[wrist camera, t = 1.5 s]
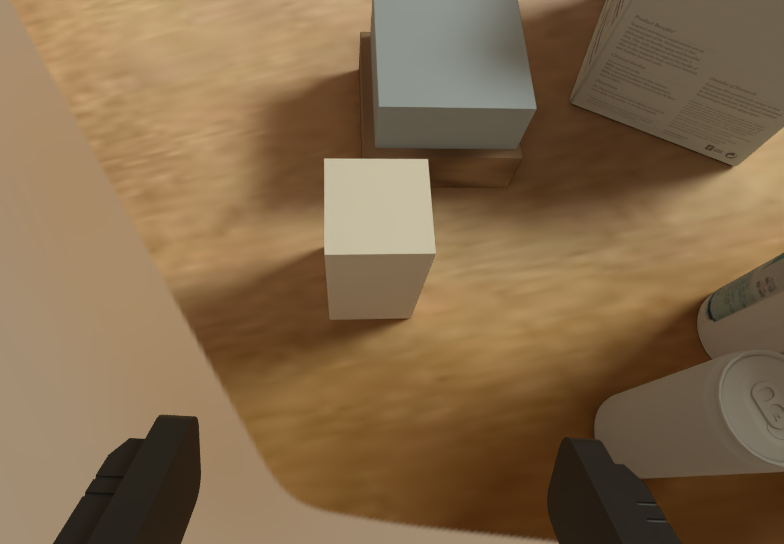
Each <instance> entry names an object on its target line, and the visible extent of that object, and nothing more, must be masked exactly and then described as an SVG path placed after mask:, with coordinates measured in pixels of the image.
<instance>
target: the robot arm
mask: <svg viewBox="0 0 784 544" xmlns="http://www.w3.org/2000/svg"><path fill="white" fill-rule="evenodd" d="M200 480H201V464H200V444H199V424H198V419H197V417H195V416H176V415H159V416H158V418H157V419H156V421H155V422H154V424H153V426H152V428H151V430H150V431H149V433H148V435H147V437H146V438H145V439H136V438H129V439H128V440H127V441H126V442H124V443H123V444H122V445H121V446H119V447H118V448H117V449H115V450H114V451H113V452H112V453H111V454H109V455H108V457H107V458H106V460H105V461H104V463H103V465H102V466H101V468H100V469H99V471H98V473H97V474H96V478H95V479H93V481H92V482H91V484H90V486H89V487H88V489H87V490H86V492H85V496H84V497H82V498H81V500H80V501H79V503H78V505H77V506H76V508H75V509H74V511H73V513H72V514H71V516H70V517H69V519H68V521H67V523H66V524H65V525H64V527H63V529H62V530H61V532H60V533H59V535H58V537H57V538H56V540H55V542H54V543H53V544H181V542H182V539H183V536H184V534H185V531H186V528H187V526H188V523H189V520H190V518H191V515H192V512H193V510H194V507H195V504H196V501H197V497H198V493H199V488H200ZM547 503H548V512H549V517H550V520H551V523H552V526H553V528H554V531H555V534H556V536H557V539H558V542H559V544H682V543H681V542H680V540H679V539H678V537H677V535H676V534H675V532H674V530H673V529H672V527H671V526H670V524H669V523H667V522H666V517H665V516H664V514H663V513H662V511H661V509H660V508H659V506H656V501H655V500H654V498H653V496H652V495H651V493H650V491H649V490H648V488H647V487H646V485H645V483H644V482H643V481H642V480H641V479H640V478H639V477H637V476H636V475H635V474H634V473H633V472H632V471H631V470H630V469H629V468H627V467H626V466H625V465H624V464H615V463H614V462H613V460H612V458H611V456H610V455H609V453H608V451H607V449H606V448H605V446H604V444H603V443H602V442H601V441H600V440H599V439H585V438H564V439H563V440H562V442H561V444H560V447H559V451H558V455H557V459H556V462H555V466H554V470H553V474H552V478H551V481H550V485H549V489H548V498H547Z"/></svg>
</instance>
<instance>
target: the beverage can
mask: <svg viewBox="0 0 784 544" xmlns="http://www.w3.org/2000/svg"><path fill="white" fill-rule="evenodd" d="M594 435H595V439H599V440H600V441H601V442H602V443H603V444H604V446H605V448H606V449H607V451H608V453H609V455H610V456H611V458H612V460H613V462H614V463H615V464H624V465H625V466H626V467H627V468H629V469H630V470H631V471H632V472H633V473H634V474H635V475H636V476H637V477H639V478H640V479H647V478H668V477H689V476H709V475H730V474H750V473H771V472H784V355H783V354H781V353H777V352H773V351H770V350H750V351H737V352H734V353H730V354H726V355H723V356H720V357H718V358H715V359H712V360H709V361H707V362H704V363H701V364H698V365H696V366H693V367H690V368H687V369H685V370H682V371H679V372H676V373H673V374H671V375H668V376H665V377H662V378H660V379H657V380H654V381H651V382H649V383H646V384H643V385H640V386H638V387H635V388H632V389H629V390H626V391H624V392H621V393H618V394H615V395H613V396H611V397H610V398H608V399H607V400H605V401H604V402H603V404H602V405H601V406H600V407H599V409H598V412H597V414H596V417H595V424H594Z"/></svg>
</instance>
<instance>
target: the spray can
mask: <svg viewBox="0 0 784 544" xmlns="http://www.w3.org/2000/svg"><path fill="white" fill-rule="evenodd" d="M697 330H698V334H699V338H700V341H701V343H702V345H703V347H704V349H705V351H706V352H707V354H708V355H709V356H710V357H711V359H715V358H718V357H720V356H723V355H726V354H730V353H734V352H737V351H750V350H770V351H773V352H777V353H781V354H783V355H784V253H782V254H781V255H779V256H777V257H775V258H774V259H772V260H770V261H768V262H766V263H765V264H763V265H761V266H759V267H757V268H756V269H754V270H752V271H750V272H748V273H747V274H745V275H743V276H741V277H739V278H738V279H736V280H734V281H732V282H730V283H729V284H727V285H725V286H723V287H721V288H720V289H718V290H716V291H715V292H713V293H712V294H711V295H709V297H708V298H706V300H705V301H704V302H703V304H702V305H701V307H700V310H699V313H698V316H697Z"/></svg>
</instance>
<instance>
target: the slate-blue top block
mask: <svg viewBox="0 0 784 544" xmlns="http://www.w3.org/2000/svg"><path fill="white" fill-rule="evenodd" d="M370 41H371V65H372V88H373V112H374V136H375V148H429V149H517V147H518V145H519V143H520V141H521V139H522V137H523V135H524V133H525V131H526V129H527V127H528V125H529V123H530V121H531V119H532V117H533V115H534V113H535V111H536V109H537V108H536V102H535V96H534V91H533V85H532V79H531V73H530V68H529V62H528V56H527V50H526V44H525V39H524V33H523V27H522V21H521V16H520V10H519V4H518V0H372V16H371V33H370Z"/></svg>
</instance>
